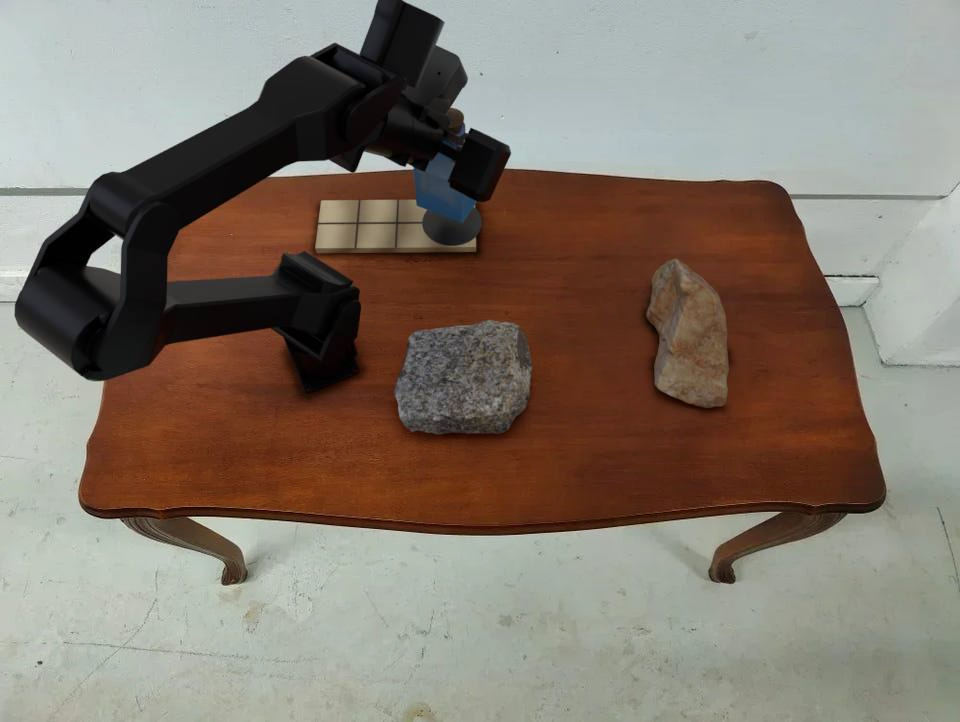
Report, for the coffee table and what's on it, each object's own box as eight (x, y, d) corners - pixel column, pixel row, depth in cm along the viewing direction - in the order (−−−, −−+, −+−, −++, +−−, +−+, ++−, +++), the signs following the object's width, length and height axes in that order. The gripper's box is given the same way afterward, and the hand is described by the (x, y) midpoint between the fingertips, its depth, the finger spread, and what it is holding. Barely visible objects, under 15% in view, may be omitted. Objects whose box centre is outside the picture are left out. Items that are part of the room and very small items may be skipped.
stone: (642, 263, 86) (691, 240, 76) (705, 279, 88) (759, 259, 79) (627, 403, 83) (676, 397, 73) (692, 416, 85) (748, 411, 76)
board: (316, 253, 89) (314, 247, 88) (322, 205, 93) (320, 199, 92) (482, 251, 89) (482, 246, 88) (481, 204, 93) (481, 198, 92)
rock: (391, 439, 76) (531, 444, 76) (387, 414, 70) (537, 420, 71) (401, 338, 82) (530, 343, 82) (397, 308, 76) (536, 314, 77)
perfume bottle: (485, 189, 87) (488, 109, 76) (462, 223, 84) (462, 144, 73) (440, 172, 88) (437, 91, 78) (416, 205, 85) (410, 125, 75)
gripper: (505, 80, 62) (557, 114, 76) (341, 3, 67) (419, 48, 81) (453, 198, 65) (512, 209, 79) (301, 116, 70) (383, 141, 84)
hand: (456, 149), depth 81 cm, fingers closed on perfume bottle, 6 cm apart
